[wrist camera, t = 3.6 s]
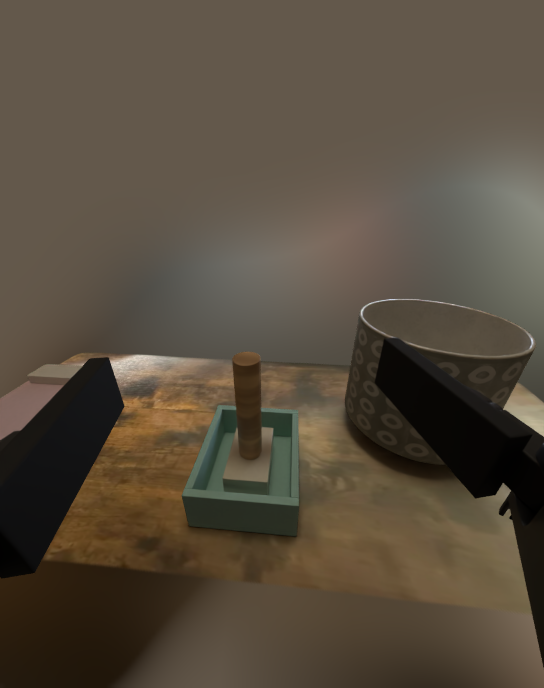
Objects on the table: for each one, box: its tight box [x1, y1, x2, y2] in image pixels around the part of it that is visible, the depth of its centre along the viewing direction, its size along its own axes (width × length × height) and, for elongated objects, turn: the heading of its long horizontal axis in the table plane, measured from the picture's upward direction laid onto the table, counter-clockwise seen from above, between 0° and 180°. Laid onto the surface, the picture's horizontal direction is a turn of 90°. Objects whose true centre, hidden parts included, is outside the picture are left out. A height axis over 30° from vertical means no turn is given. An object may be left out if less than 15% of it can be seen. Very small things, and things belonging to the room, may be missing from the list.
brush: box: [222, 352, 273, 495], centre depth 29 cm, size 8×5×17 cm, turn 175°
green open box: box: [182, 405, 299, 536], centre depth 32 cm, size 14×12×5 cm
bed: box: [0, 364, 82, 440], centre depth 41 cm, size 20×10×5 cm, turn 175°
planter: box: [345, 299, 536, 465], centre depth 37 cm, size 19×19×18 cm
